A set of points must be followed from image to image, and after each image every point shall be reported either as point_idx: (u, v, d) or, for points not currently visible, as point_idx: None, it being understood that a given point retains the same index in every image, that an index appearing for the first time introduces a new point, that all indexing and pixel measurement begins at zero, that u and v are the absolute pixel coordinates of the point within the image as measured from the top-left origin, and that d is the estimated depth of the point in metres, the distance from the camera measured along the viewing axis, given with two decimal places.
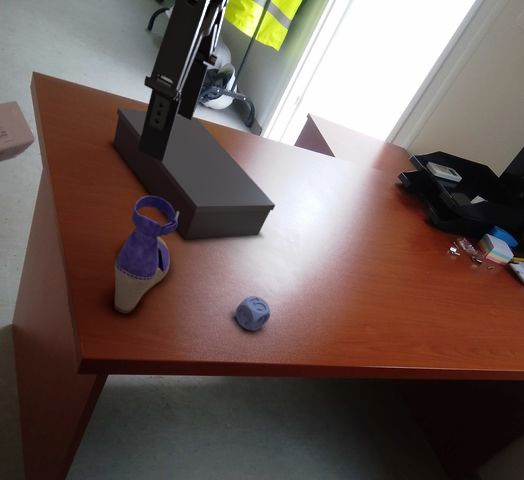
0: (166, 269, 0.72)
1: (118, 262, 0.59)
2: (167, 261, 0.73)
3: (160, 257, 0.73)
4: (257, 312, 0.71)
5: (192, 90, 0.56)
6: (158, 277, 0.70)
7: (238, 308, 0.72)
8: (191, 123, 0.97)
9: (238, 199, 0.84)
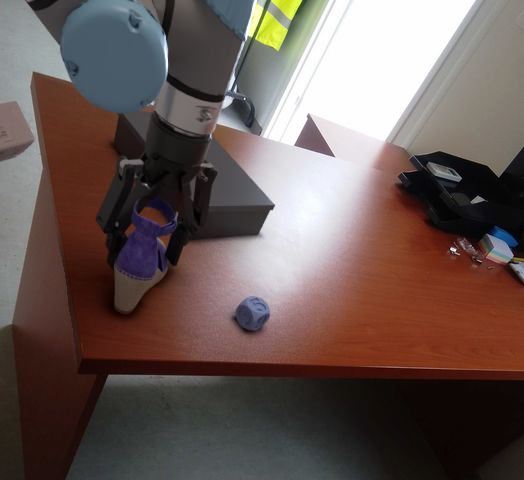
0: (165, 269, 0.72)
1: (118, 263, 0.59)
2: (166, 261, 0.73)
3: (159, 257, 0.73)
4: (257, 312, 0.71)
5: (175, 246, 0.70)
6: (158, 277, 0.70)
7: (238, 308, 0.72)
8: None
9: (238, 199, 0.84)
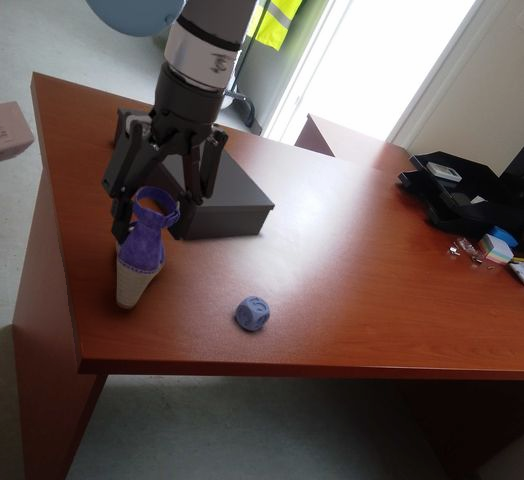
0: (163, 261, 0.70)
1: (121, 257, 0.57)
2: (163, 253, 0.71)
3: None
4: (257, 312, 0.71)
5: (179, 218, 0.66)
6: None
7: (238, 308, 0.72)
8: None
9: (238, 199, 0.84)
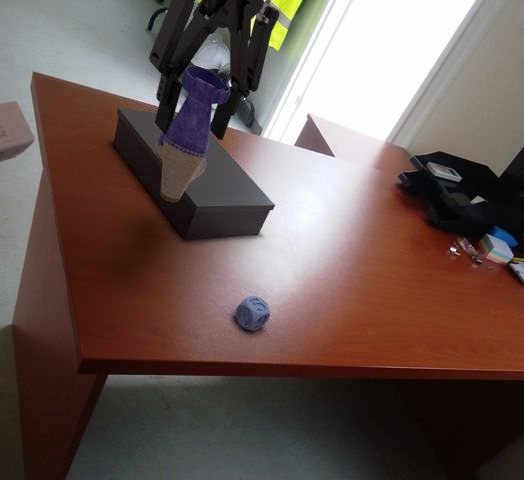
0: (204, 164, 0.68)
1: (169, 136, 0.55)
2: None
3: None
4: (257, 312, 0.71)
5: (223, 113, 0.64)
6: (199, 170, 0.66)
7: (238, 308, 0.72)
8: None
9: (238, 199, 0.84)
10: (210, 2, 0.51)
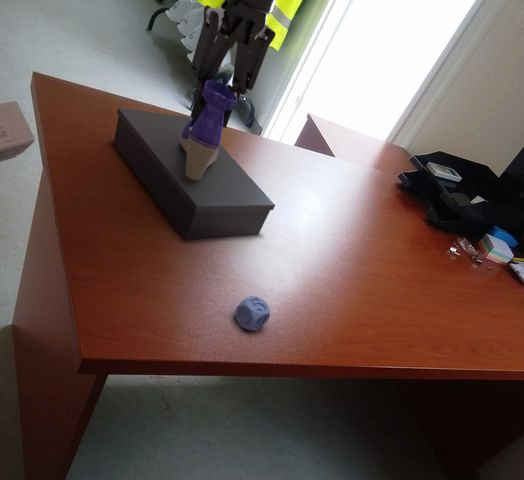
0: (217, 152, 0.88)
1: (193, 134, 0.75)
2: None
3: None
4: (257, 312, 0.71)
5: None
6: (213, 157, 0.86)
7: (238, 308, 0.72)
8: None
9: (238, 199, 0.84)
10: (228, 24, 0.71)
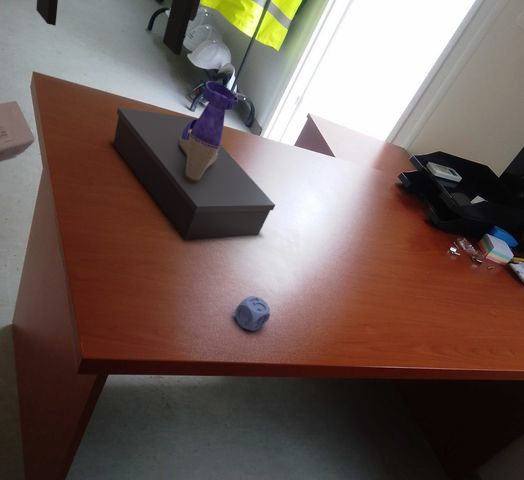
0: (216, 154, 0.88)
1: (194, 133, 0.75)
2: None
3: None
4: (257, 312, 0.71)
5: (178, 16, 0.49)
6: (213, 159, 0.86)
7: (238, 308, 0.72)
8: None
9: (238, 199, 0.84)
10: None
